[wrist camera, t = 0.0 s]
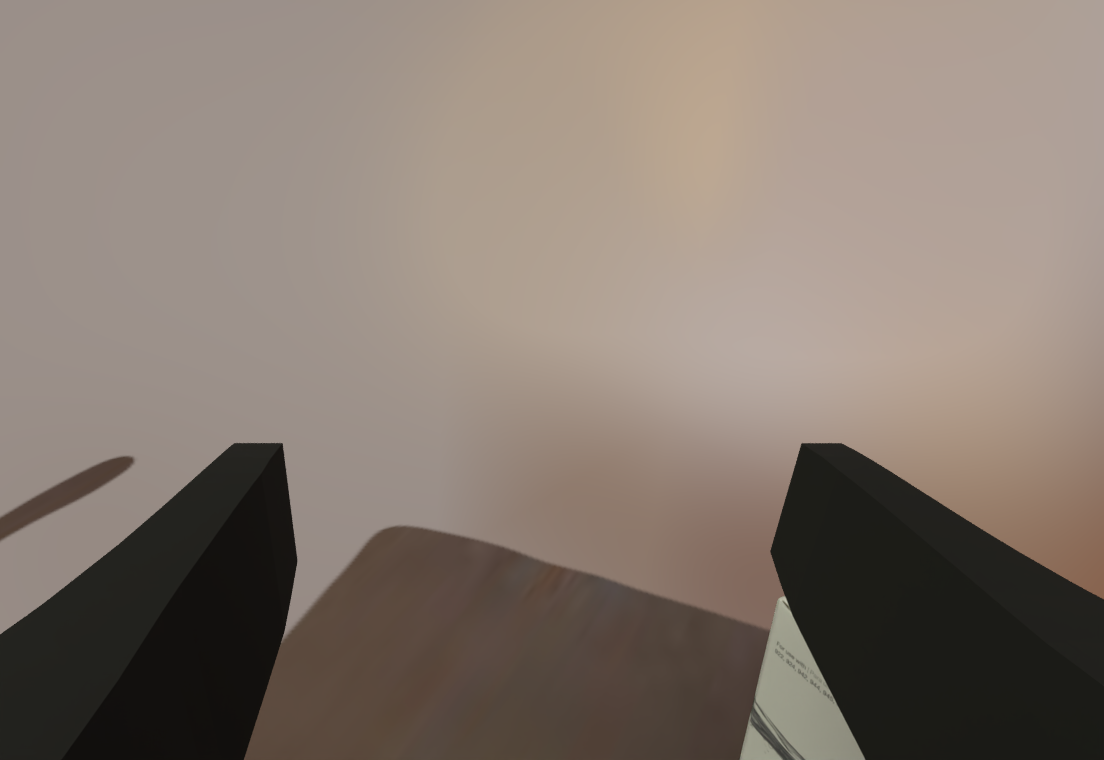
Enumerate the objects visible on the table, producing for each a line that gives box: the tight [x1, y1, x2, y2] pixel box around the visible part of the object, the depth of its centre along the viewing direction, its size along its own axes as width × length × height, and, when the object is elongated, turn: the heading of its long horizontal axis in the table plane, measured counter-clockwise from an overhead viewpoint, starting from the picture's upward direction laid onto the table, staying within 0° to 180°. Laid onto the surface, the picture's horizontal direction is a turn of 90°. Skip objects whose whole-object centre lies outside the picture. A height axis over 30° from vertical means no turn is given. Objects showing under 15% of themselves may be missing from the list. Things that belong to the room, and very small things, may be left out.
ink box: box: [740, 596, 865, 760], centre depth 27 cm, size 9×5×12 cm, turn 121°
